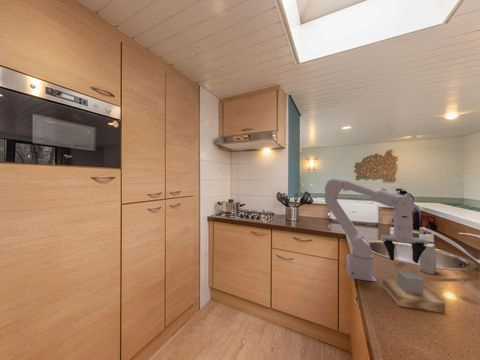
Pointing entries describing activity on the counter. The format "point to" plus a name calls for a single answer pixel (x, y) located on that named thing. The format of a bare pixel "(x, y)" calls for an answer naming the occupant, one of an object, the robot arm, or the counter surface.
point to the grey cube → (410, 282)
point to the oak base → (413, 297)
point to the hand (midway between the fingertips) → (403, 260)
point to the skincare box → (428, 259)
